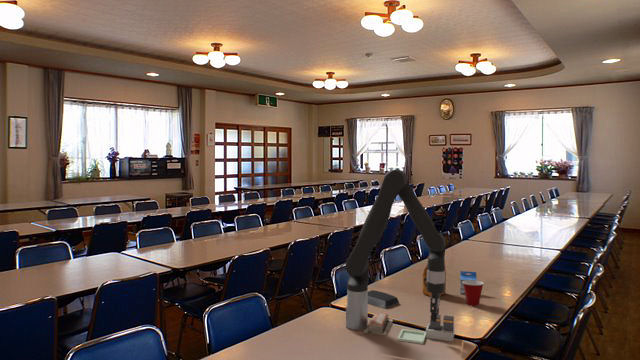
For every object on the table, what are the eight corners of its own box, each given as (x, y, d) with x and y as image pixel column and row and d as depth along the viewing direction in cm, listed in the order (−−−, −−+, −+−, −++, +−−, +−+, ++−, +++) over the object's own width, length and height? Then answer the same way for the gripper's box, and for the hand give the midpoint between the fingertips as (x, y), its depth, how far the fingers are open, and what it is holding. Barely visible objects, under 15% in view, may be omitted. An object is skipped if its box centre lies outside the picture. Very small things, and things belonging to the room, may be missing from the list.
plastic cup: (480, 301, 235) (480, 279, 235) (486, 308, 224) (486, 284, 224) (459, 300, 236) (460, 278, 236) (464, 307, 225) (464, 284, 225)
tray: (397, 341, 184) (397, 338, 184) (401, 332, 194) (401, 328, 194) (423, 345, 180) (423, 341, 180) (426, 335, 190) (426, 332, 190)
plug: (430, 335, 188) (430, 316, 187) (431, 331, 192) (431, 313, 191) (440, 336, 186) (440, 318, 186) (440, 333, 190) (440, 314, 190)
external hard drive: (383, 309, 224) (383, 301, 224) (356, 300, 239) (356, 293, 238) (400, 304, 233) (400, 296, 232) (372, 295, 247) (372, 288, 247)
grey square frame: (425, 339, 186) (425, 318, 186) (428, 332, 194) (428, 311, 193) (452, 342, 183) (453, 321, 182) (454, 335, 190) (454, 314, 190)
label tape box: (460, 294, 247) (460, 272, 247) (459, 292, 251) (460, 270, 251) (476, 295, 245) (476, 273, 244) (476, 293, 249) (476, 271, 248)
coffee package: (419, 293, 249) (419, 255, 248) (434, 290, 256) (434, 252, 255) (433, 298, 240) (433, 258, 239) (448, 294, 248) (448, 255, 246)
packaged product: (386, 326, 189) (363, 324, 192) (386, 337, 189) (363, 335, 193) (393, 312, 206) (372, 310, 209) (393, 322, 206) (372, 320, 210)
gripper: (428, 275, 196) (428, 311, 197) (424, 283, 182) (423, 322, 183) (446, 277, 193) (445, 313, 194) (443, 285, 180) (442, 325, 181)
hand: (434, 317), depth 189 cm, fingers open, 8 cm apart
